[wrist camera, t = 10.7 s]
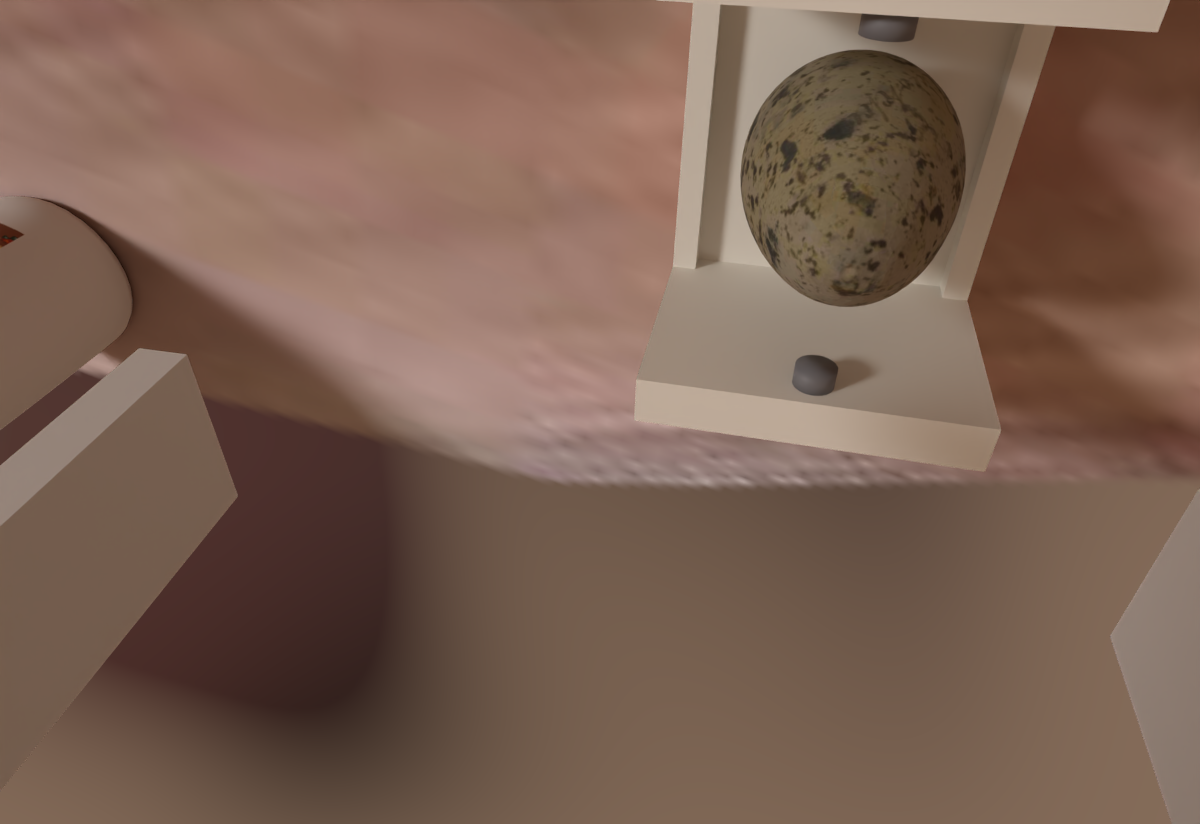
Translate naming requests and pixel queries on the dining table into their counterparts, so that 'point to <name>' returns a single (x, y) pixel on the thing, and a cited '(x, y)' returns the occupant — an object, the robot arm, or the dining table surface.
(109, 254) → the milk bottle
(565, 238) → the dining table surface
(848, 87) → the decorative egg
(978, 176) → the holder
